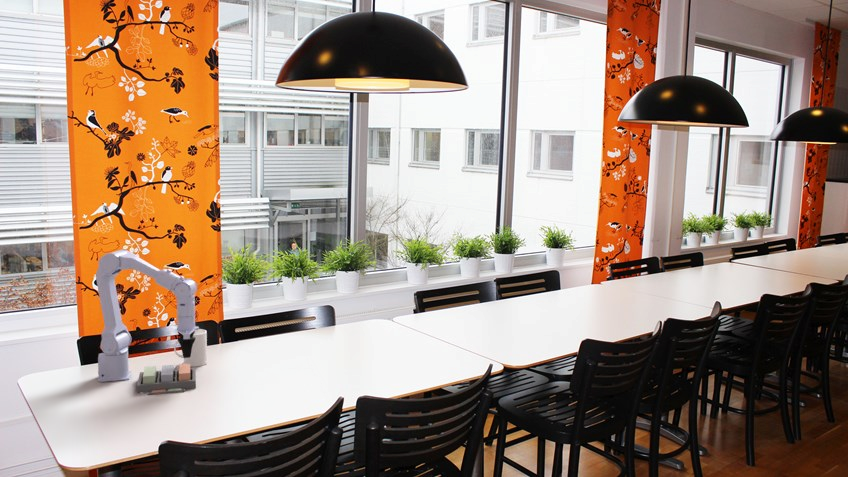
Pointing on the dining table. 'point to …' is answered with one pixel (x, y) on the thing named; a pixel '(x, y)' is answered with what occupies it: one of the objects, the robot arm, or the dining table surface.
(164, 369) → the key slate
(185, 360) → the mug
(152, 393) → the strip
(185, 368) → the key terracotta
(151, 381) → the key sage
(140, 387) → the keypad frame
